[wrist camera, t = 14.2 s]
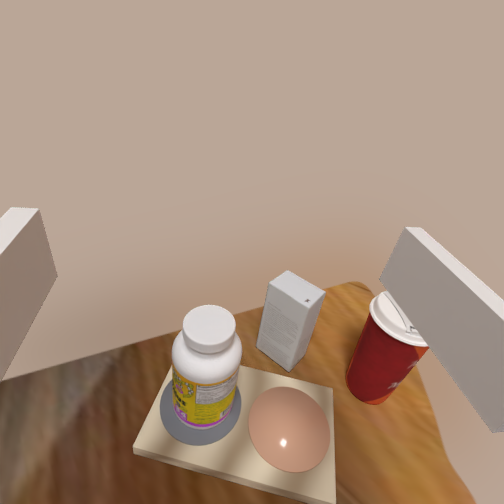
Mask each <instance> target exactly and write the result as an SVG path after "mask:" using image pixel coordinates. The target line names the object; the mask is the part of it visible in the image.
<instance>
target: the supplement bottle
mask: <svg viewBox="0 0 504 504" xmlns="http://www.w3.org/2000/svg"><path fill="white" fill-rule="evenodd" d="M235 327H236V323H235V319H234V317H233V316H232V314H231V313H230V312H229V311H227V310H226V309H224V308H222V307H220V306H216V305H203V306H199V307H196V308H194V309H192V310H191V311H190V312H189V313H188V314H187V315H186V316H185V318H184V321H183V330H182V331H181V332H180V333H179V334H178V335H177V337H176V339H175V341H174V343H173V347H172V391H173V407H174V411H175V413H176V415H177V417H178V418H179V420H180V421H181V422H182V423H184V424H185V425H187V426H188V427H191V428H193V429H199V430H204V429H209V428H212V427H215V426H217V425H218V424H220V423H221V422H222V421H224V420H225V418H226V417H227V416H228V414H229V413H230V411H231V408H232V405H233V401H234V395H235V390H236V384H237V378H238V373H239V367H240V362H241V356H242V345H241V341H240V339H239V337H238V335H237V334H236V332H235Z"/></svg>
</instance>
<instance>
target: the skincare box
mask: <svg viewBox="0 0 504 504" xmlns="http://www.w3.org/2000/svg"><path fill="white" fill-rule="evenodd" d="M325 293H326V292H325V291H323V290H321V289H319V288H318V287H316V286H314V285H312V284H311V283H309V282H307V281H306V280H304V279H302V278H300V277H299V276H297V275H295V274H293V273H292V272H290V271H288V270H287V271H285V272H284V273H282V274H281V275H279V276H278V277H277V278H275V279H273V280H272V281H270V282H269V283H268V289H267V294H266V299H265V304H264V309H263V314H262V319H261V324H260V329H259V333H258V338H257V343H256V347H257V348H258V349H259V350H261V351H262V352H263V353H265V354H266V355H267V356H268V357H270V358H271V359H272V360H274V361H275V362H276V363H277V364H279V365H280V366H281V367H283V368H284V369H285V370H286V371H288V372H290V371H291V370H292V368H293V367H294V366H295V365H296V364H297V363H298V362H299V361H300V360H301V359H302V357H303V356H304V355H305V353H306V350H307V347H308V344H309V341H310V338H311V335H312V332H313V329H314V326H315V324H316V320H317V317H318V315H319V312H320V309H321V305H322V302H323V300H324V297H325Z"/></svg>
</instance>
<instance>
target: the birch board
mask: <svg viewBox="0 0 504 504" xmlns="http://www.w3.org/2000/svg"><path fill="white" fill-rule="evenodd" d="M171 380H172V366H171V368H170V370H169V372H168V375H167V377H166V379H165V381H164V383H163V385H162V387H161V389H160V391H159V393H158V395H157V397H156V399H155V401H154V403H153V406H152V408H151V410H150V412H149V414H148V416H147V418H146V420H145V422H144V424H143V426H142V428H141V430H140V432H139V435H138V437H137V439H136V441H135V443H134V445H133V452H134V454H136V455H140V456H143V457H147V458H150V459H154V460H157V461H161V462H164V463H168V464H171V465H175V466H178V467H182V468H185V469H189V470H192V471H196V472H199V473H203V474H206V475H210V476H213V477H217V478H220V479H224V480H227V481H231V482H234V483H238V484H241V485H245V486H248V487H252V488H255V489H259V490H262V491H266V492H269V493H273V494H276V495H280V496H283V497H287V498H290V499H294V500H297V501H301V502H304V503H308V504H336V485H335V451H334V417H333V388H329V387H325V386H321V385H317V384H313V383H309V382H305V381H301V380H297V379H293V378H289V377H285V376H281V375H277V374H273V373H269V372H265V371H261V370H257V369H253V368H249V367H245V366H241V365H240V367H239V373H238V378H237V384H236V385H237V387H238V389H239V391H240V395H241V411H240V415H239V418H238V421H237V423H236V424H235V426H234V428H233V429H232V430H231V431H230V432H229V433H228V434H227V435H226V436H225V437H223V438H222V439H221V440H219V441H217V442H214V443H212V444H208V445H203V446H193V445H188V444H185V443H182V442H180V441H178V440H176V439H175V438H174V437H172V436H171V435H170V434H169V433H168V432H167V430H166V429H165V427H164V425H163V423H162V420H161V416H160V400H161V396H162V393H163V391H164V389H165V387H166V386H167V384H168V383H169V382H170V381H171ZM274 387H291V388H295V389H298V390H300V391H302V392H304V393H306V394H307V395H309V396H310V397H311V398H312V399H314V400H315V401H316V402H317V404H318V405H319V406H320V407H321V409H322V410H323V412H324V414H325V416H326V418H327V421H328V424H329V428H330V444H329V448H328V451H327V453H326V455H325V457H324V458H323V460H322V461H321V462H320V463H319V464H318V465H317V466H316V467H314V468H313V469H311V470H309V471H306V472H302V473H289V472H284V471H282V470H279V469H277V468H275V467H273V466H272V465H270V464H269V463H267V462H266V461H265V460H264V459H263V458H262V457H261V456H260V455H259V453H258V452H257V450H256V449H255V447H254V445H253V443H252V441H251V438H250V434H249V429H248V418H249V413H250V409H251V407H252V405H253V403H254V401H255V400H256V399H257V397H258V396H259V395H260V394H262V393H263V392H265V391H266V390H268V389H271V388H274Z"/></svg>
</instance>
